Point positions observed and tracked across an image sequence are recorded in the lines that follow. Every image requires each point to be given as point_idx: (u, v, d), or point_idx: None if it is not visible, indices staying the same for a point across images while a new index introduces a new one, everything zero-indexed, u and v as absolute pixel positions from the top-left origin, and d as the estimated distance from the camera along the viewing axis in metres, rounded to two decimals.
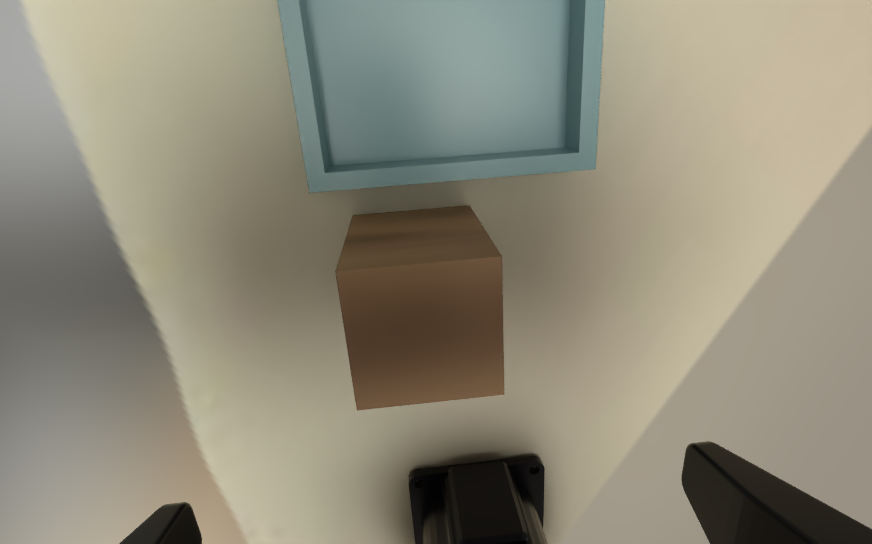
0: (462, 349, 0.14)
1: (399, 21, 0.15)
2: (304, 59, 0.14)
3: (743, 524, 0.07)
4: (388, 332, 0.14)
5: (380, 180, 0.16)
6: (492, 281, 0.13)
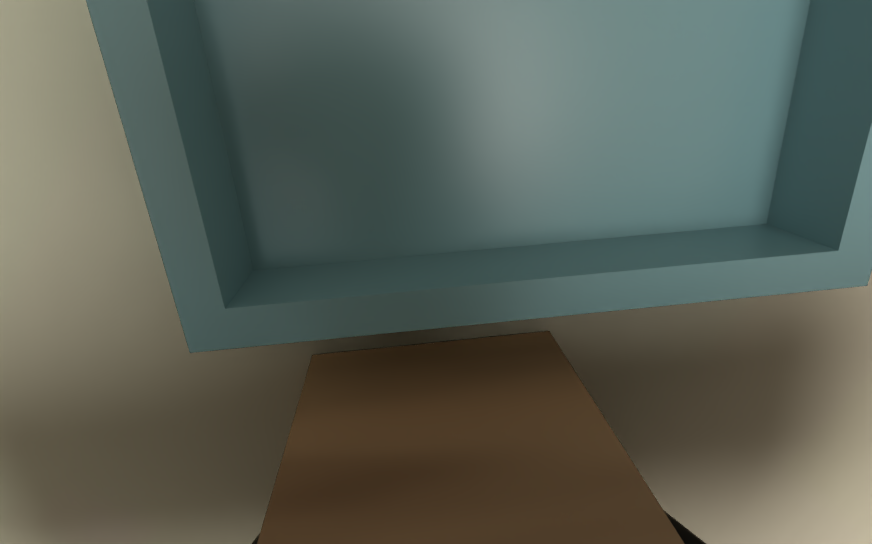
0: None
1: None
2: (141, 17, 0.05)
3: None
4: None
5: (364, 321, 0.07)
6: None
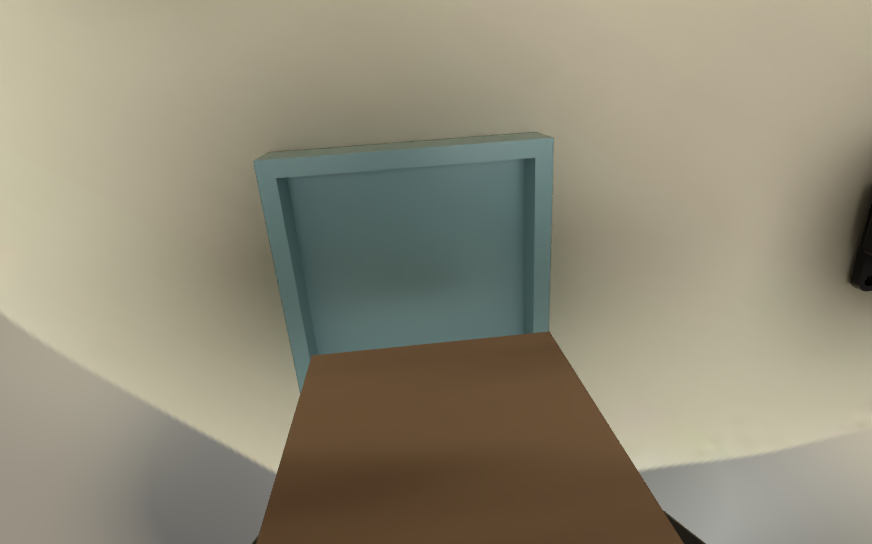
0: None
1: (414, 304, 0.19)
2: None
3: None
4: None
5: None
6: None
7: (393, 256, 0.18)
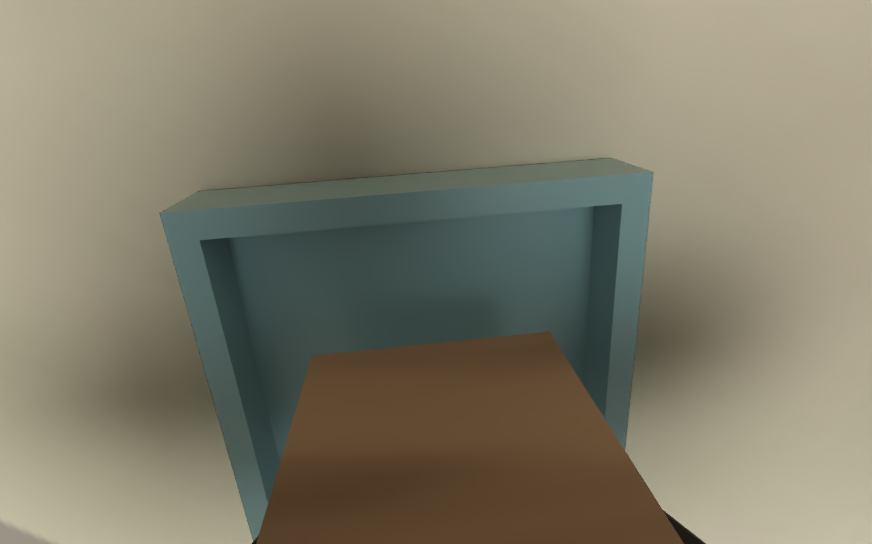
0: None
1: None
2: None
3: None
4: None
5: None
6: None
7: (393, 343, 0.12)
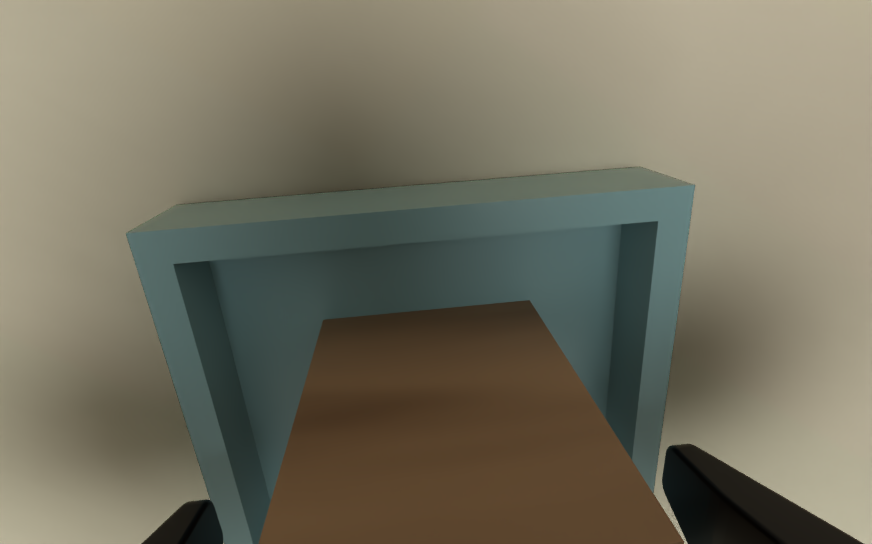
0: None
1: None
2: None
3: (719, 527, 0.07)
4: None
5: None
6: None
7: None
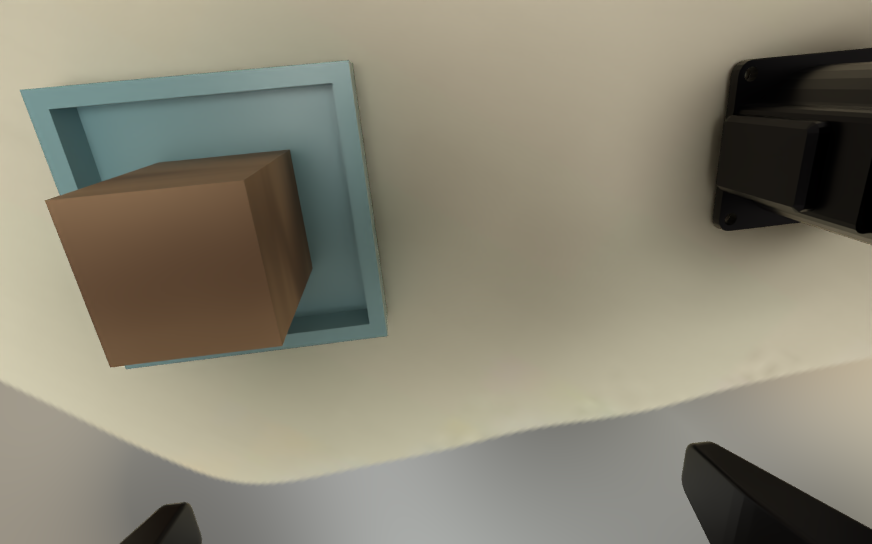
0: (220, 293, 0.12)
1: None
2: None
3: (743, 524, 0.07)
4: (126, 274, 0.12)
5: (373, 279, 0.17)
6: (238, 210, 0.12)
7: None
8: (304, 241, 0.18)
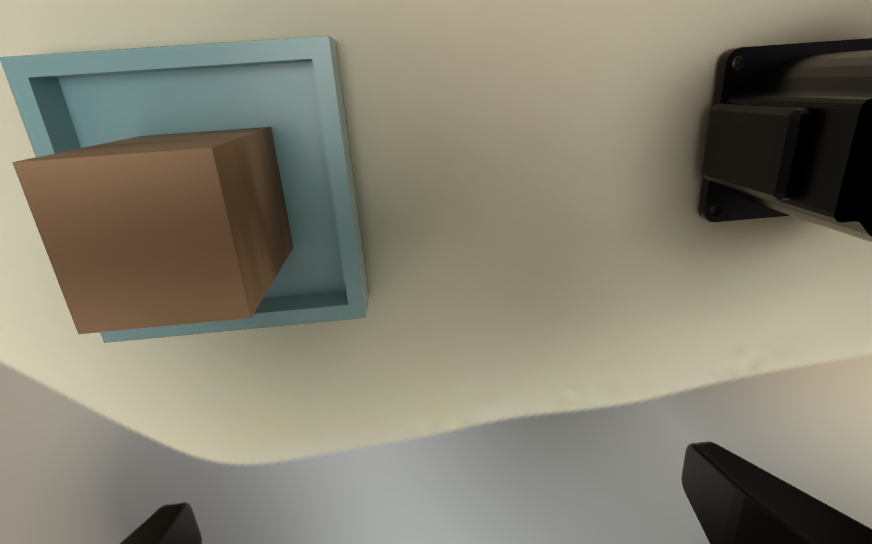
0: (189, 262, 0.12)
1: None
2: (256, 315, 0.18)
3: (743, 524, 0.07)
4: (94, 240, 0.12)
5: (352, 259, 0.17)
6: (207, 178, 0.12)
7: None
8: (284, 219, 0.18)
